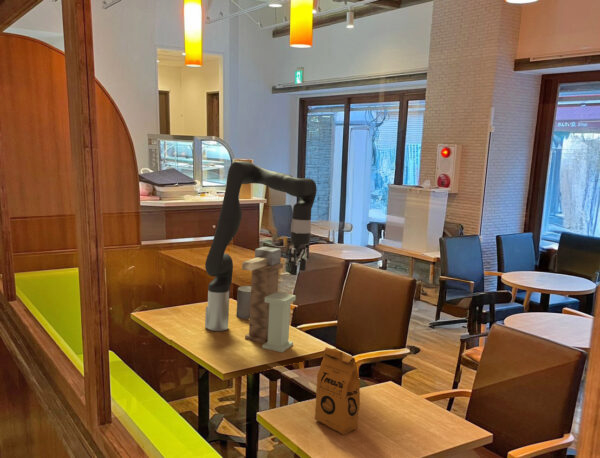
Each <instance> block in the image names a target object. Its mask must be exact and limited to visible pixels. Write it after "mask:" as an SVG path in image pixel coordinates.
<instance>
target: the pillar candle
mask: <svg viewBox="0 0 600 458" xmlns="http://www.w3.org/2000/svg"><path fill="white" fill-rule="evenodd" d="M236 299H237V301H236V314H235V315H236V318H238V319H242V320H250V302H251V285H242V286H239V287H238V288H237V296H236Z"/></svg>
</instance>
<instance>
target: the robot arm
mask: <svg viewBox="0 0 600 458" xmlns="http://www.w3.org/2000/svg"><path fill="white" fill-rule="evenodd" d="M248 184H260V185H265V186H266V187H268V188H269V189H271V190H274V191H278V192H282V193H286V194H287V195H290V196H292V197H295V198H299V200H298V202H296V203H294V204H293V207H292V219H291V220H292V221H291V225H290V243H291V244H293V247H290V248H289V252H288V253H289V254H288V265H289V264H290V265H291V267H290V274H291V275H293V276H296V275H297V274H298V263H299V271H302V272H304V271H306V267H307V261H308V259H309V258H310V243H311V232H312V231H311V230H312V220H311V219H312V208H313V206H314V203H315V199H316V196H317V189H318V188H317V184H316V181H315V180H313V179H312V178H307V177H306V178H305V177H304V178H303V177H302V178H299V177H294V176H293V175H291V174H288V173H283V172H279V171H273V170H269V169H266V168H263V167H261V166H259V165H257V164H255V163H254V162H253V163H252V162H251V161H241V160H236V161H233V162H232V163H231V164H230V165H229V168H228V171H227V177H226V184H225V192H224V195H223V200H222V204H221V205H222V206H221V208H220V212H219V215H218V218H217V219H218V220H217V225H216V227H215V228H216V229H215V232H214V235H213V239H212V243H211V246H210V248H209V251H208V254H207V256H206V259H205V262H204V263H205V265H204V268H205V271H206V274H207V275H209V276H210V277H213V279H212V281H210V282H209V283H208V286H207V287H208V290H207V291H208V292H207V305H206V306H205V320H204V321H205V322H204V328H205V329H207V330H209V331H213V332H222V331H223V332H224V331H227V330H228V328H229V313H230V311H229V310H230V289H231V285H232V282H233V271H234V262H233V259H232V257H231V255H229V254H228V253H225V252H226V251H227V250H226V249H227V248H228V246H229V244H230V243H231V242H232V240H233V239H234V238H235V236H236V234H237V232H238V231H239V228H240V225H241V221H242V217H243V212H242V211H243V210H242V207H241V203H240V192H241V188H242V185H248Z"/></svg>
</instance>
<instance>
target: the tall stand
mask: <svg viewBox="0 0 600 458" xmlns="http://www.w3.org/2000/svg"><path fill="white" fill-rule="evenodd" d="M282 268H284V262H280V263H278V264H276V265H273V266H269V265H267V266H264V267H261V268H258V269H255V270H252V271H251V280H250V281H251V282H250V283H251V285H250V286H251V302H250V319H249V327H248V328H249V329H248V333H247V334H246V335H244V339H245V340H249V341H252V342H257V343H262V344H265V343H266V342H268V325H269V305H270V303H266V302H265V297H266V296H269V295H271V294H273V293H275V292H278V291H279V276H280V274H279V273H280V269H282Z"/></svg>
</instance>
